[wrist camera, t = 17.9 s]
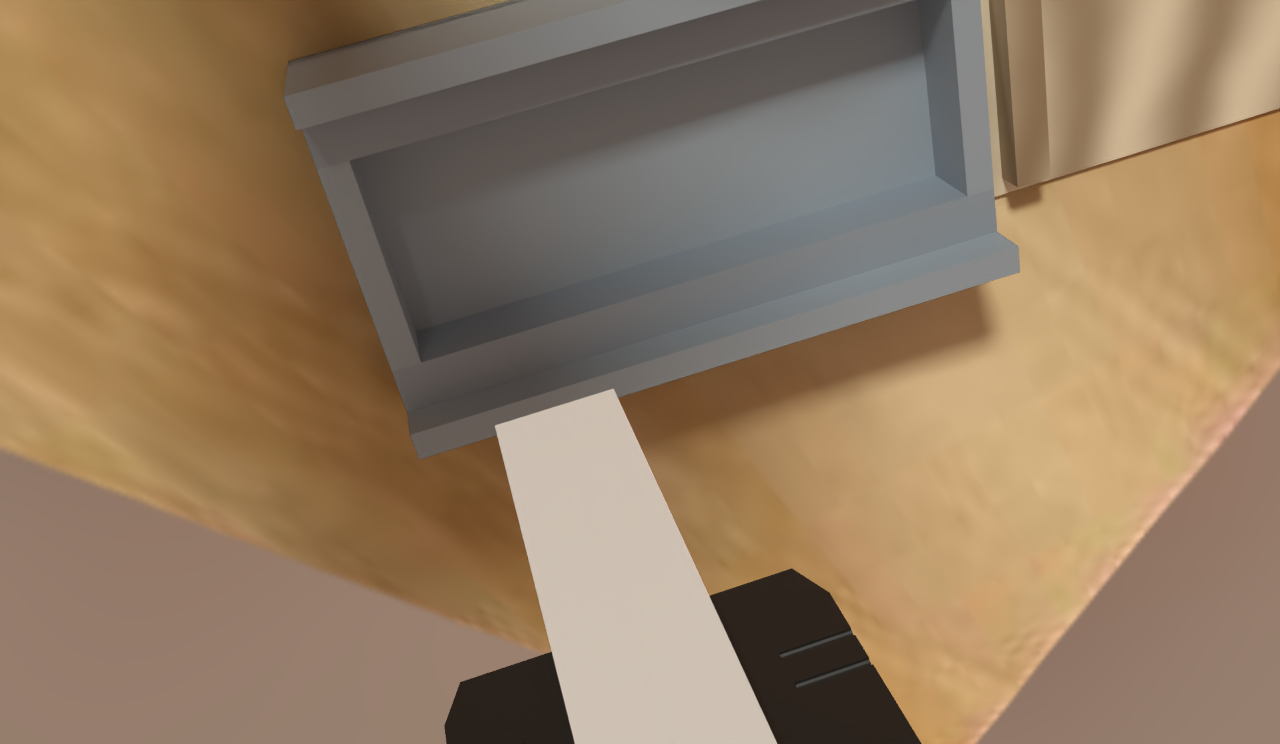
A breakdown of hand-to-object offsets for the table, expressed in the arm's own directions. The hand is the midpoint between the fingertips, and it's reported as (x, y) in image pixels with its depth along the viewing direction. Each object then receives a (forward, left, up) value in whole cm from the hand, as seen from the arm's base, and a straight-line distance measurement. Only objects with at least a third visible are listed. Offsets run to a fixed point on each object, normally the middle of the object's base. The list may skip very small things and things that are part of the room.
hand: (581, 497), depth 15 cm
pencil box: (+8, -8, -34) cm, 36 cm away
